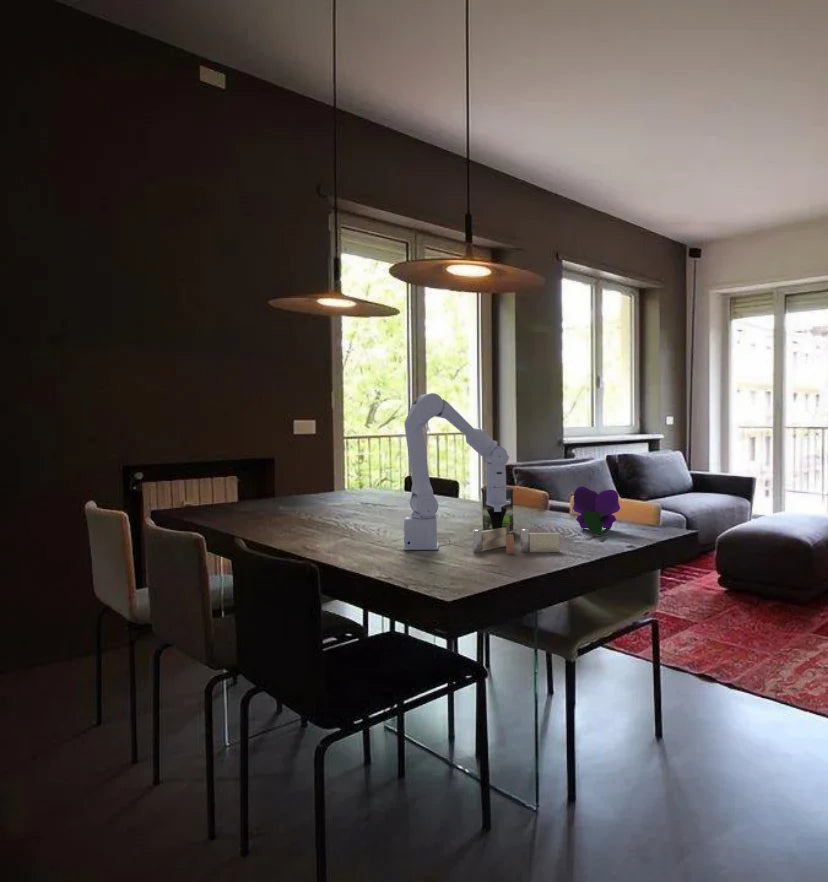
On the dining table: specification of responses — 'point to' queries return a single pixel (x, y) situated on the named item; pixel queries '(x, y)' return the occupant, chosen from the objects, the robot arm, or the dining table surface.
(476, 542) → the gate frame
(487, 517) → the coffee can
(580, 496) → the flower
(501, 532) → the gate leaf
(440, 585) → the dining table surface
